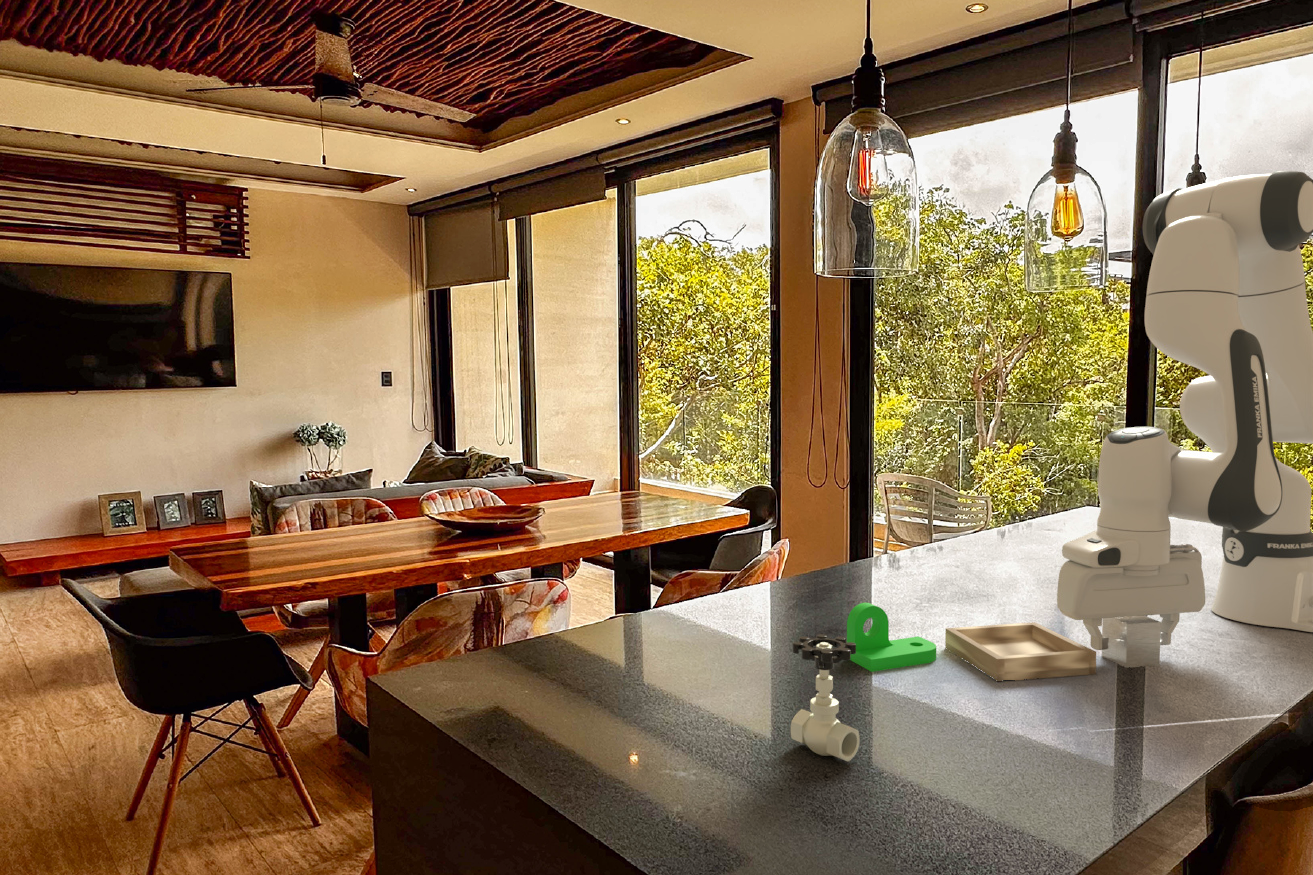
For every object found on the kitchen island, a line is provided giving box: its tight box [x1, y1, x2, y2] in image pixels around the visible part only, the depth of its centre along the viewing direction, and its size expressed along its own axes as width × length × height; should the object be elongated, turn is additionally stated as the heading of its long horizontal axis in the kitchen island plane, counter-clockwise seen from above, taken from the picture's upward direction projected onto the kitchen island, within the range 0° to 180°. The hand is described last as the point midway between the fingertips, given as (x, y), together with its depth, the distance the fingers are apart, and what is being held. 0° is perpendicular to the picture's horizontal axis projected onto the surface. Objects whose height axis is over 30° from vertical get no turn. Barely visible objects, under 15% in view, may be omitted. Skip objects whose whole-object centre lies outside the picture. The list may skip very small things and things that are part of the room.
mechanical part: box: [846, 602, 937, 673], centre depth 124 cm, size 12×6×8 cm, turn 110°
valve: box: [790, 633, 860, 762], centre depth 94 cm, size 7×7×12 cm
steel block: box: [1101, 615, 1161, 669], centre depth 122 cm, size 5×5×6 cm
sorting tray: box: [944, 621, 1097, 682], centre depth 123 cm, size 14×14×3 cm
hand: (1130, 646), depth 122 cm, fingers open, 8 cm apart
